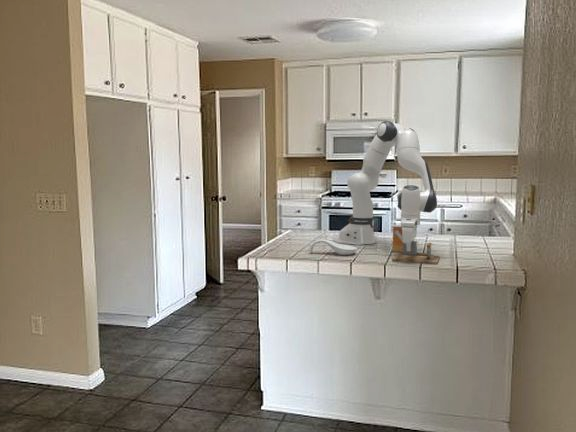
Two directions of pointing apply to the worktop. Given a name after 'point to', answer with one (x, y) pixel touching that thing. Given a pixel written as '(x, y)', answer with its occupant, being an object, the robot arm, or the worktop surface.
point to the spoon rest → (336, 247)
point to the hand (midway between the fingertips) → (409, 249)
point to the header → (418, 257)
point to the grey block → (413, 249)
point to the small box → (397, 238)
